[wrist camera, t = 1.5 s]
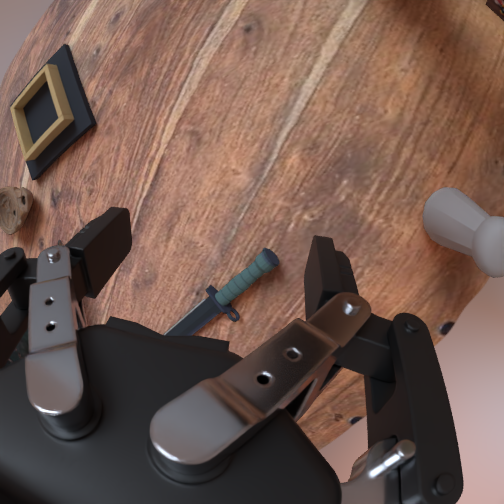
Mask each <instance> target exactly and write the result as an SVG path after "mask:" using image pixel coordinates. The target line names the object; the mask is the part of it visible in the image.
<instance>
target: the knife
mask: <svg viewBox="0 0 504 504" xmlns="http://www.w3.org/2000/svg"><path fill="white" fill-rule="evenodd" d="M278 265H279V260H278V258H277V256H276V255H275V254H274V253H273V252H272V251H271V250H270V249H267V248H264V249H263V250H262V252H261V253H260V254H259V255H258V256H257V257H256V259H255V261H254V262H253V263H252V264H251V265H250V266H249V267H248V268H246V269H245V270H243V271H242V272H241V273H239V274H238V275H237V276H235V277H234V278H233V279H232V280H231V281H230V282H229V283H228V284H226V285H225V286H224V287H223V288H222V289H221V290H220V291H219V292H218V291H217V290H216V289H215V288H214V287H213V286H212V285H210V286H209V287H208V288H207V289H206V292H207V293H208V295H209V297H208V298H207V299H203V300H202V301H201V302H200V303H199V304H198V305H196V306H195V307H194V308H193V309H192V310H191V311H190V312H189V313H187V314H186V315H185V316H184V317H183V318H182V319H181V320H179V321H178V322H177V323H176V324H175V325H174V326H173V327H171V328H170V329H169V330H168V331H167V332H166V333H165V334H164V335H165V336H191V335H193V334H194V333H195V332H196V331H198V330H199V329H200V328H202V327H203V326H204V325H205V324H207V323H208V322H209V321H210V320H212V319H213V318H214V317H215V316H217V315H218V314H219V313H220V312H223V313H225V314H227V316H228V317H229V319H230V320H232V321H234V322H236V321H238V320H239V318H240V317H239V314H238V312H237V311H236V310H235V309H233V308H232V305H231V303H230V302H231V301H232V300H233V299H235V298H236V297H238V295H240V294H241V293H243V292H244V291H245V290H247V289H248V288H249V287H250V286H251V284H253V283H254V282H255V281H256V280H257V278H259V277H260V276H262V275H263V274H264V273H267V272H270V271H271V270H272V269H273V268H275V267H276V266H278ZM230 311H232V312H233V313H234V314H235V315H236V319H235V318H233V317H232V316H231V314H230Z"/></svg>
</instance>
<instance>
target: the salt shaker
mask: <svg viewBox="0 0 504 504" xmlns="http://www.w3.org/2000/svg"><path fill="white" fill-rule="evenodd" d="M423 223H424V229H425V230H426V232H427V233H428V235H429V236H430V238H431V240H433V241H435V242H436V243H438V244H439V245H441V246H444V247H447V248H450V249H452V250H455V251H458V252H461V253H463V254H466V255H469V256H471V257H473V259H474V261H475V263H476V265H477V267H478V268H479V269H480V270H481V271H483V272H484V273H486V274H487V275H488V276H491V277H493V278H495V277H503V276H504V217H499V216H490V215H489V214H487V213H486V212H485V211H484V210H483V209H482V208H481V207H480V206H478V205H477V204H476V203H475V202H474V201H473V200H471V199H470V198H469V197H468V196H467V195H465V194H464V193H463V192H461V191H460V190H458V189H457V188H447V187H443V188H441V189H439V190H437V191H435V192H434V193H433V194H432V195H431V196H430V197H429V199H428V200H427V201H426V202H425V207H424V211H423Z"/></svg>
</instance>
